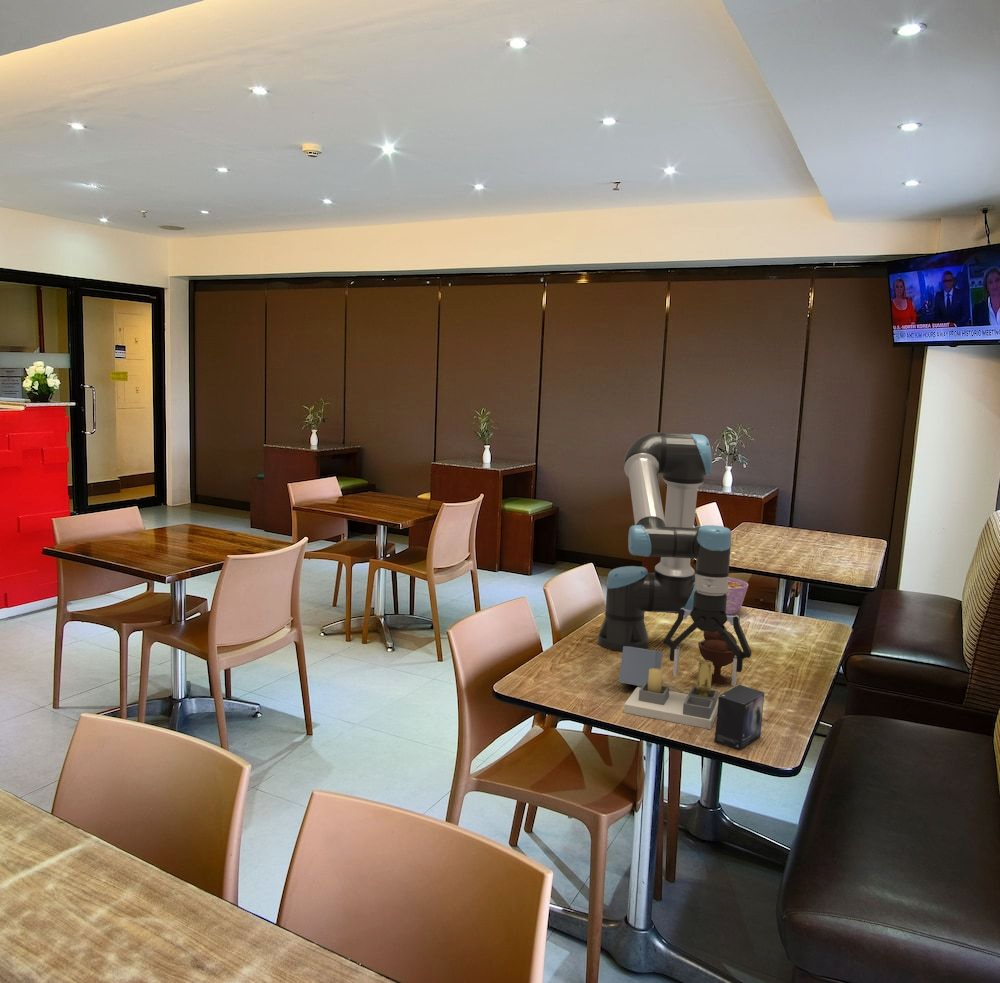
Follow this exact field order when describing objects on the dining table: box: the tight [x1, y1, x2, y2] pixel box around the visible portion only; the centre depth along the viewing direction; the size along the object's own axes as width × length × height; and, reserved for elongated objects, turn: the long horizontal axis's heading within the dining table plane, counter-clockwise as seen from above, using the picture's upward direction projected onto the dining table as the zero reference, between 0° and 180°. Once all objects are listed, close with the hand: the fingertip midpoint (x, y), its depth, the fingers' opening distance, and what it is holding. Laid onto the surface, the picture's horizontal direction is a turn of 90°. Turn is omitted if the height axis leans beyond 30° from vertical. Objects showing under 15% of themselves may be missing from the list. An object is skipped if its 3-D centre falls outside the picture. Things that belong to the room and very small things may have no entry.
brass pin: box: [696, 659, 714, 697], centre depth 187 cm, size 3×3×10 cm
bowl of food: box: [725, 577, 749, 616], centre depth 277 cm, size 20×20×12 cm
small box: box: [713, 684, 765, 750], centre depth 172 cm, size 11×6×10 cm, turn 138°
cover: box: [618, 646, 663, 686], centre depth 201 cm, size 8×8×9 cm
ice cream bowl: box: [697, 630, 741, 685], centre depth 208 cm, size 11×11×15 cm
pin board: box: [623, 668, 719, 730], centre depth 187 cm, size 20×14×9 cm
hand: (704, 679), depth 187 cm, fingers open, 13 cm apart
